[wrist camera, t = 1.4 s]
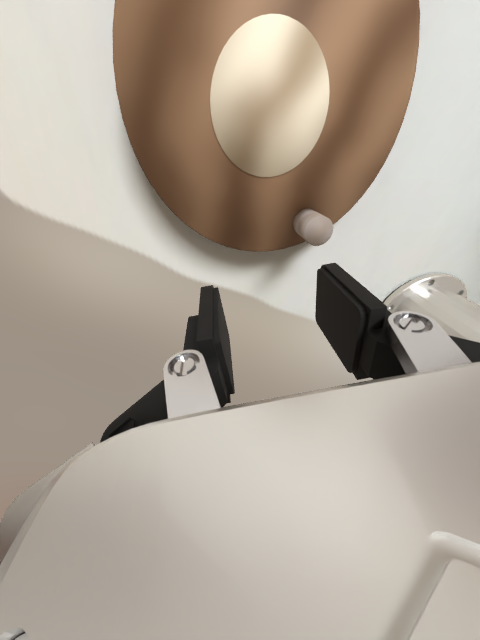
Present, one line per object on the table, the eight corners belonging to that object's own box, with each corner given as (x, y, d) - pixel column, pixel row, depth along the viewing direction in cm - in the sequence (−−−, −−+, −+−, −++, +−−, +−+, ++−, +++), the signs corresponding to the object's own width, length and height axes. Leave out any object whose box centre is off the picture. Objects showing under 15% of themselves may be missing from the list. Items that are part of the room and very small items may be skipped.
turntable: (465, -14, 17) (562, -80, 12) (315, 268, 28) (335, 290, 23) (137, -288, 11) (83, -613, 6) (114, 206, 22) (89, 218, 18)
